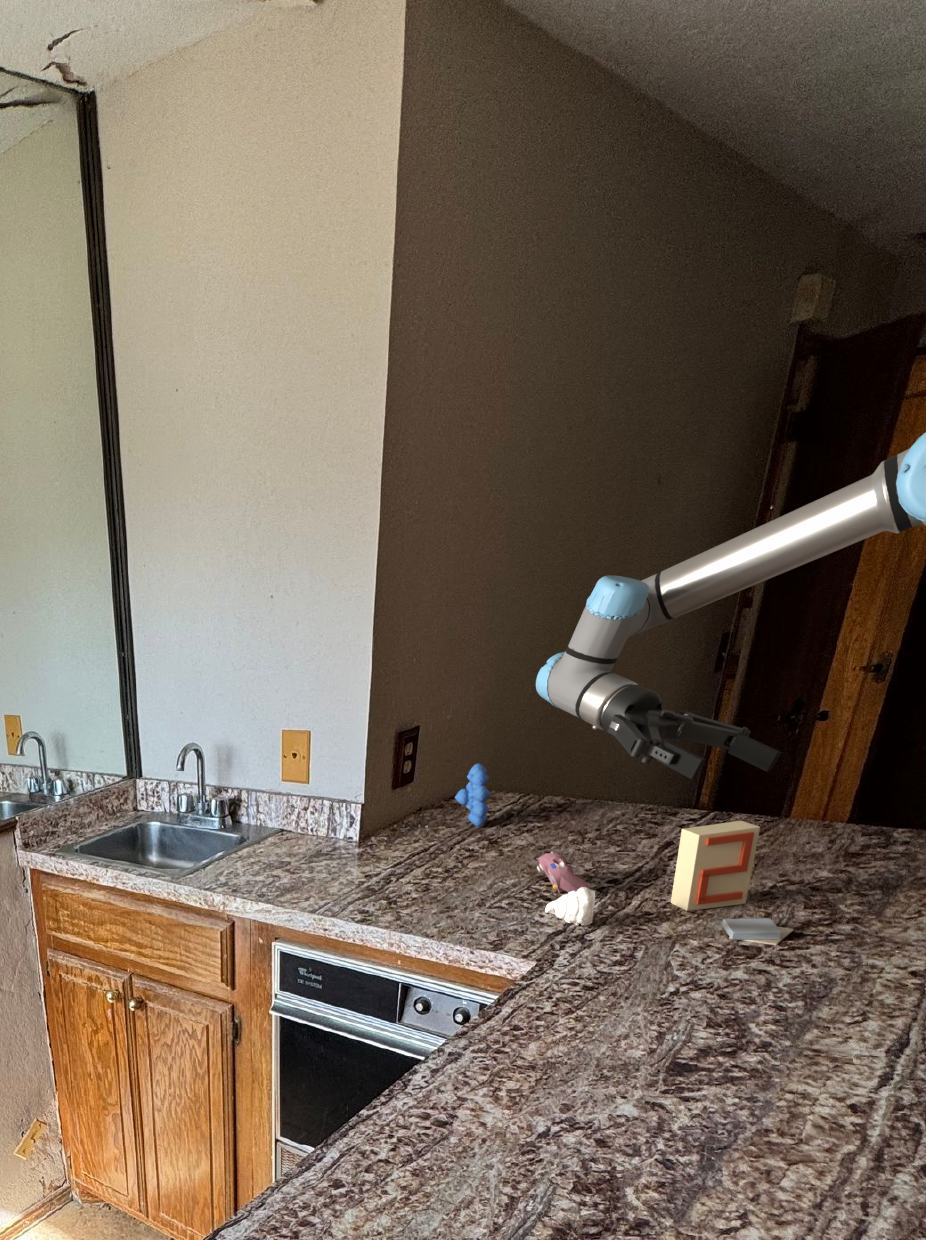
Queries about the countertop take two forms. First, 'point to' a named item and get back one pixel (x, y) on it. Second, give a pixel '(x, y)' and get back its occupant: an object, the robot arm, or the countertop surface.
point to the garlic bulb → (574, 906)
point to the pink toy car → (560, 873)
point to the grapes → (475, 795)
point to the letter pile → (755, 930)
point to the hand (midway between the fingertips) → (737, 765)
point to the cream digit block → (714, 865)
